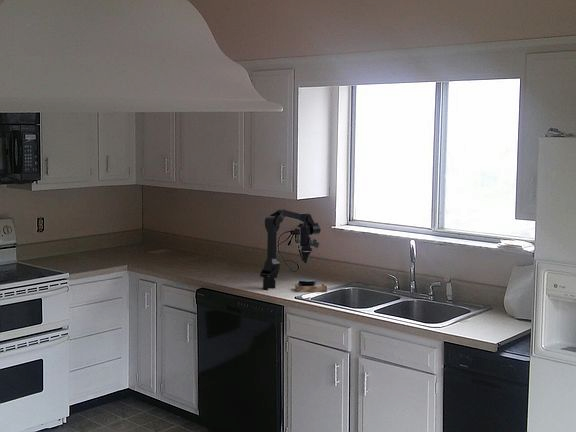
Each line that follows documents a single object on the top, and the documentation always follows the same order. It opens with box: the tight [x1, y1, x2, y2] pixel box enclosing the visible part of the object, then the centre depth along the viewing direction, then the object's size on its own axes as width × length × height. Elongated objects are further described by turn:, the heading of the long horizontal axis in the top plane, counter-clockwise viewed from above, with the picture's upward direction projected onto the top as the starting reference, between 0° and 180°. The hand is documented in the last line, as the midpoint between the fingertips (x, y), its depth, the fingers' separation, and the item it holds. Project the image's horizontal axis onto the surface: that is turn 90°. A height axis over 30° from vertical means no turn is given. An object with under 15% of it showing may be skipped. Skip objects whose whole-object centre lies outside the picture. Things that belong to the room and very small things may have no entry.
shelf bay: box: [294, 282, 328, 293], centre depth 406 cm, size 16×12×3 cm
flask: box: [298, 278, 318, 286], centre depth 423 cm, size 9×3×11 cm
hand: (304, 262), depth 432 cm, fingers open, 9 cm apart
